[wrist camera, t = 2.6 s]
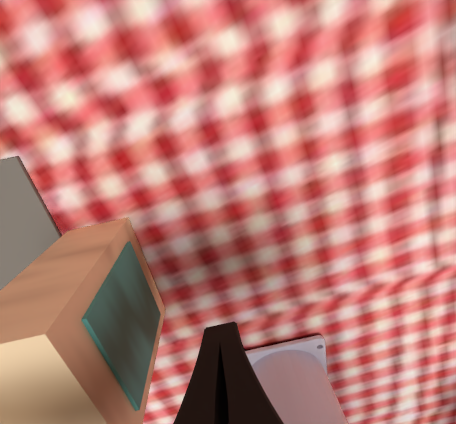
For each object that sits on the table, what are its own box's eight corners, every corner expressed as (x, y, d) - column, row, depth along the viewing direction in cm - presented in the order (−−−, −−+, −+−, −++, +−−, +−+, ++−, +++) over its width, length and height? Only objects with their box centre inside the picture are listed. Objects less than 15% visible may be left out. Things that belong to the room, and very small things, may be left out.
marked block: (168, 308, 19) (139, 461, 11) (114, 320, 19) (46, 481, 11) (131, 216, 16) (51, 332, 8) (67, 230, 16) (-80, 361, 8)
